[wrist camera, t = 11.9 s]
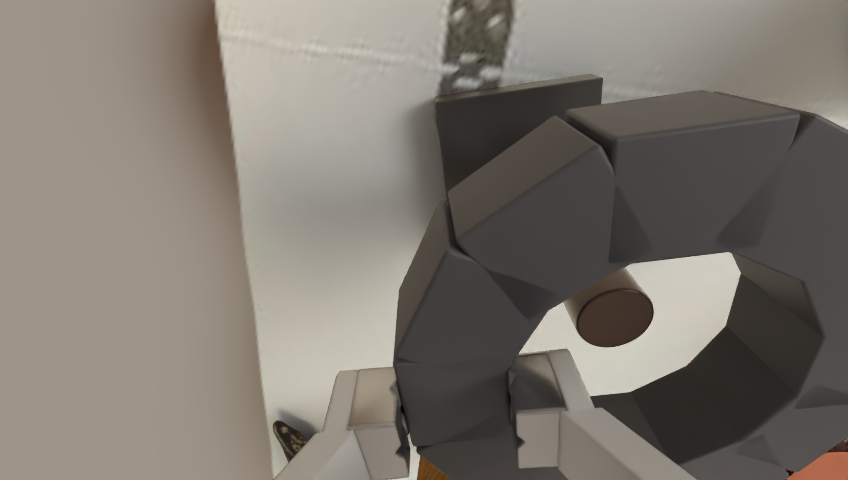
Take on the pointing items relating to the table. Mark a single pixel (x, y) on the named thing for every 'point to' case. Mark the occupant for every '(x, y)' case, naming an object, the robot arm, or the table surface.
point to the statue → (289, 439)
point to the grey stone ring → (633, 243)
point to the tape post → (501, 128)
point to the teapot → (825, 468)
